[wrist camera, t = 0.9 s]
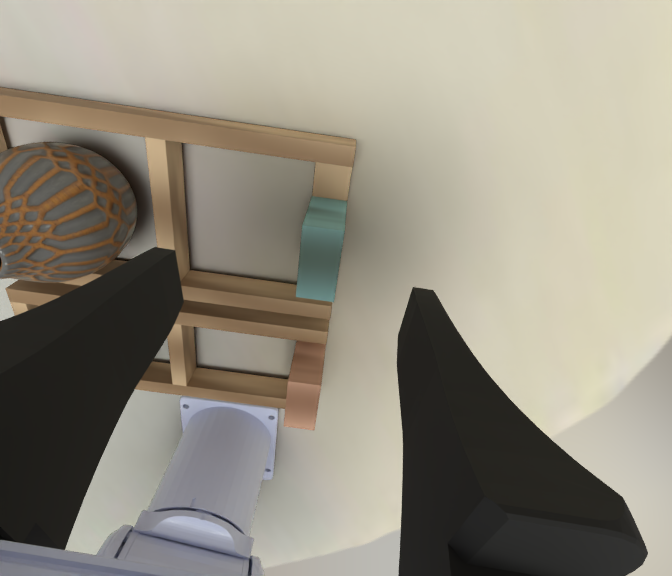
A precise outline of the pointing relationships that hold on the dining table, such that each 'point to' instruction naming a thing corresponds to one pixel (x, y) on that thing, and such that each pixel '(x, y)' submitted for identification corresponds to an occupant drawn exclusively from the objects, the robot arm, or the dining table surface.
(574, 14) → the dining table surface
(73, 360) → the robot arm
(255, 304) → the tray
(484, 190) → the dining table surface
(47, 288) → the frame
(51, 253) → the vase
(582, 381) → the dining table surface
